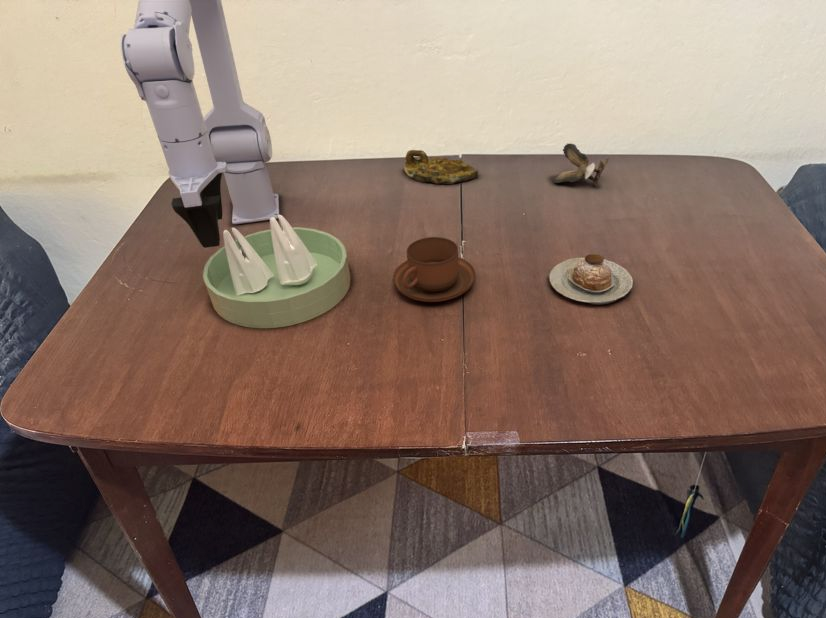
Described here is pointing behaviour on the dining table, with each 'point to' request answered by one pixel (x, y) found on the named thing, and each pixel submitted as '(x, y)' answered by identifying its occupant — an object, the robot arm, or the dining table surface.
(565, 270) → the pastry
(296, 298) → the bowl
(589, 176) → the eagle figurine
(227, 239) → the shaker set
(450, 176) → the seal
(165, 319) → the dining table surface
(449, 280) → the cup and saucer
